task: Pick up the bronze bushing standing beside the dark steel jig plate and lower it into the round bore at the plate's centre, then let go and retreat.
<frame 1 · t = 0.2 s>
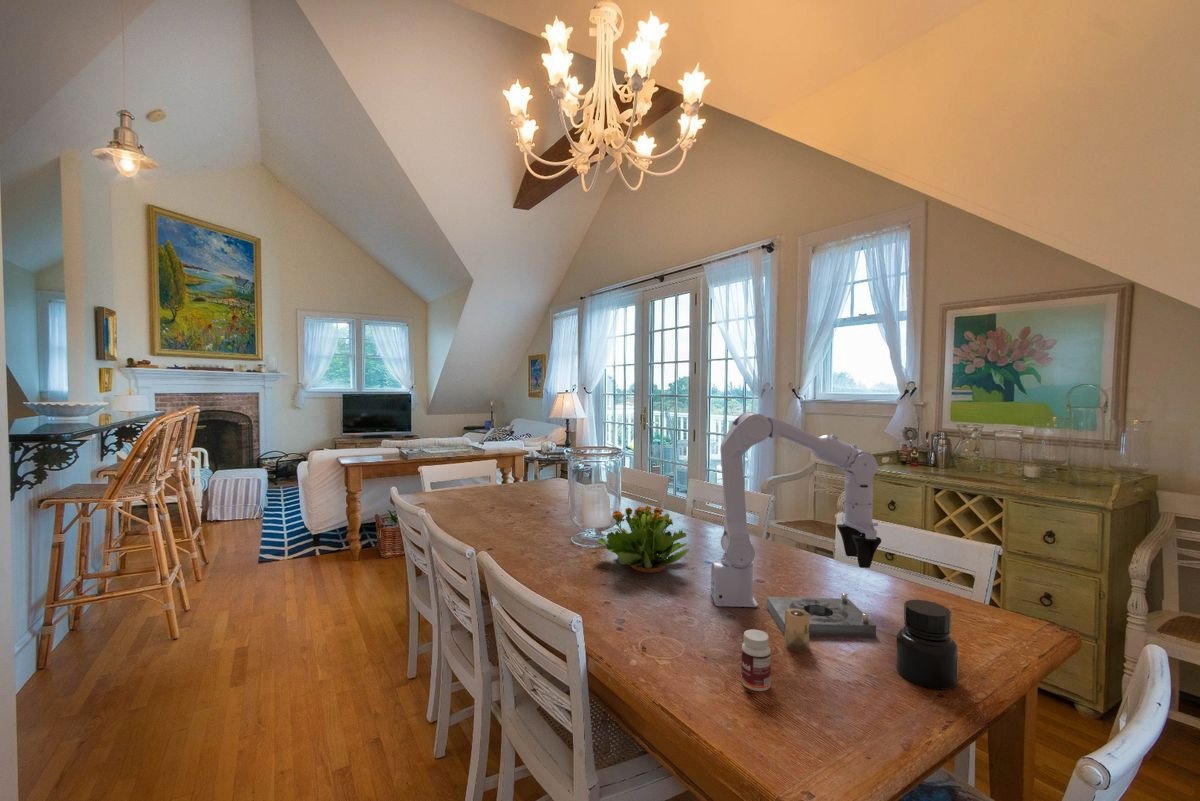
hand: (857, 561, 117), 10 cm above the table, fingers open, 7 cm apart
bushing: (796, 646, 99), on the table
pill bottle: (755, 685, 86), on the table
jig: (818, 621, 109), on the table
ink bottle: (925, 677, 89), on the table
potted flower: (651, 568, 142), on the table
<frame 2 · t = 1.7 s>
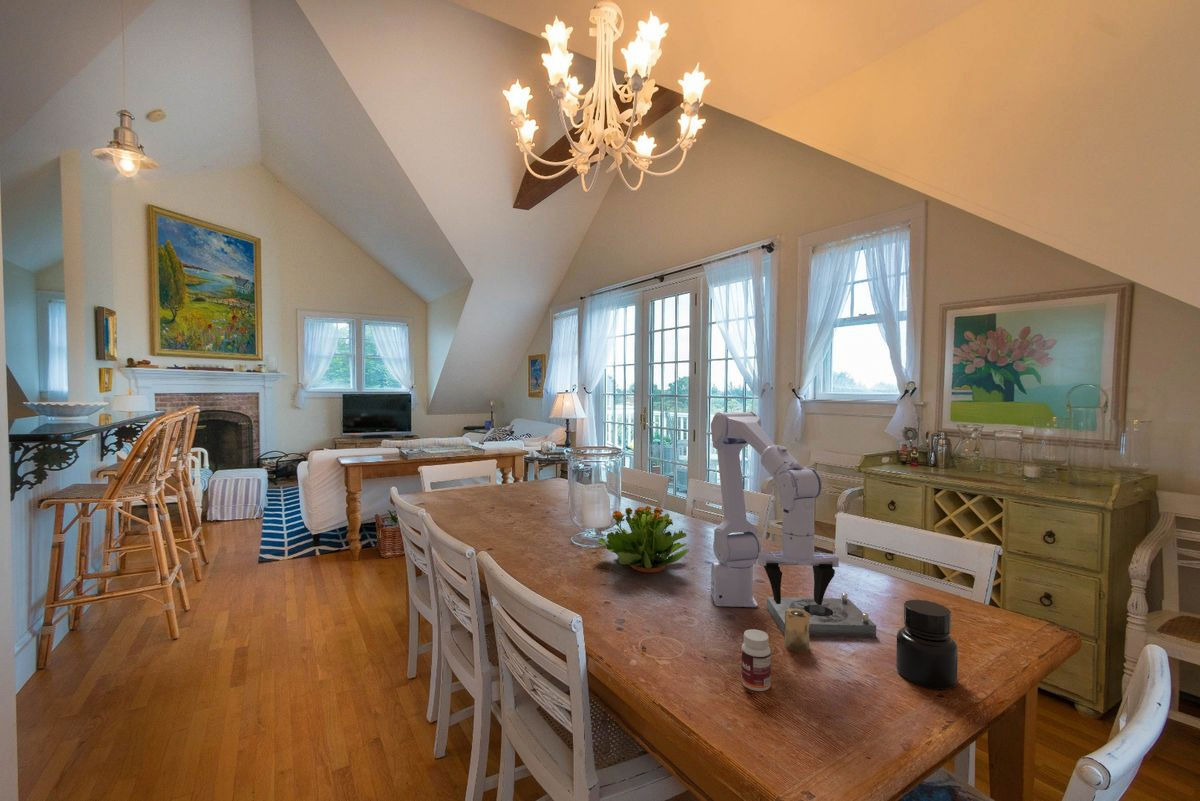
hand: (797, 602, 98), 9 cm above the table, fingers open, 7 cm apart
nothing on the table moved.
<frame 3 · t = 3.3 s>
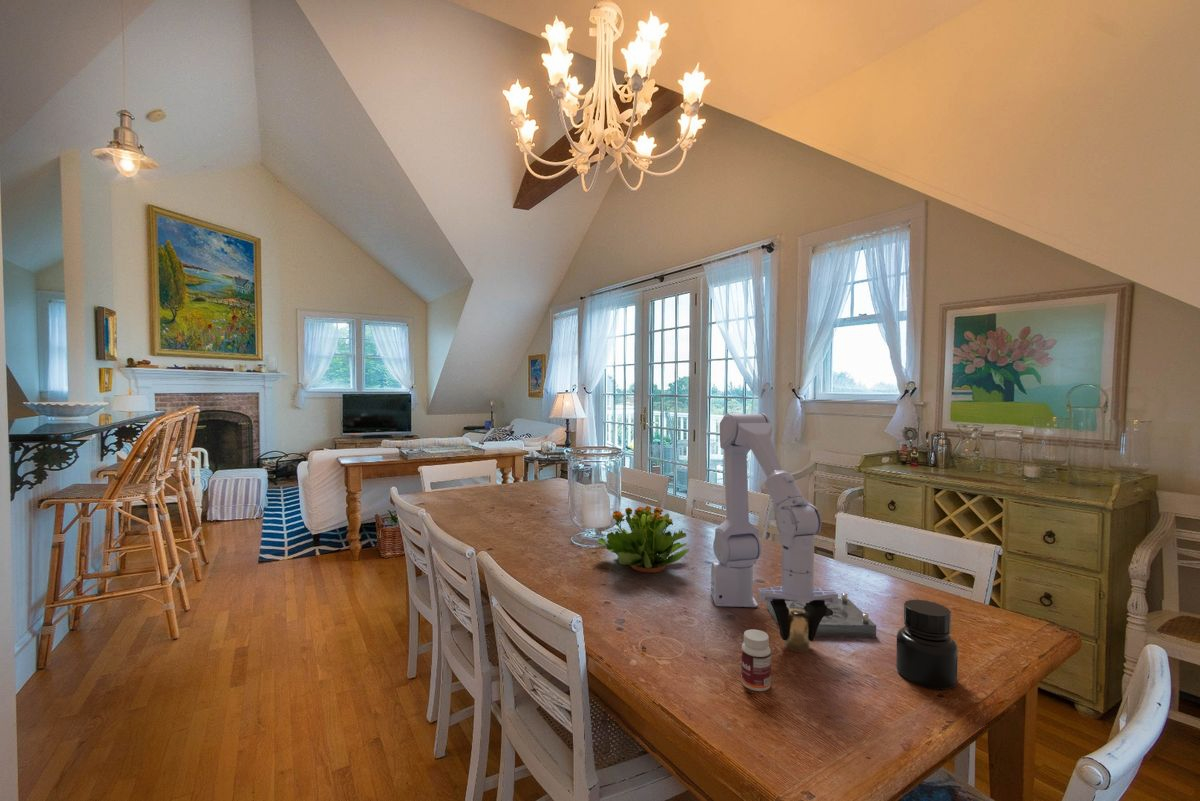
hand: (796, 638, 99), 2 cm above the table, fingers closed on bushing, 4 cm apart
bushing: (796, 646, 99), on the table, touching gripper
everything else where it was.
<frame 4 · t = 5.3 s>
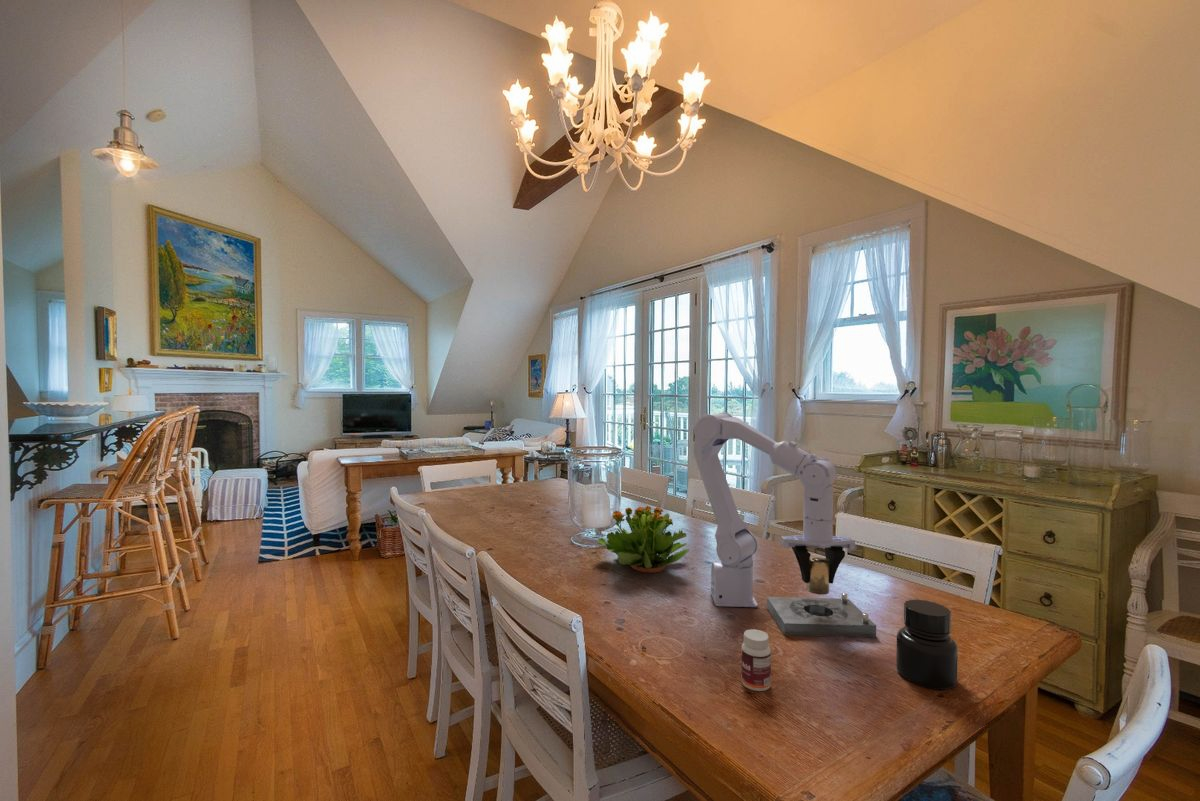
hand: (817, 581, 108), 9 cm above the table, fingers closed on bushing, 4 cm apart
bushing: (817, 590, 108), point 7 cm above the table, touching gripper
everything else where it was.
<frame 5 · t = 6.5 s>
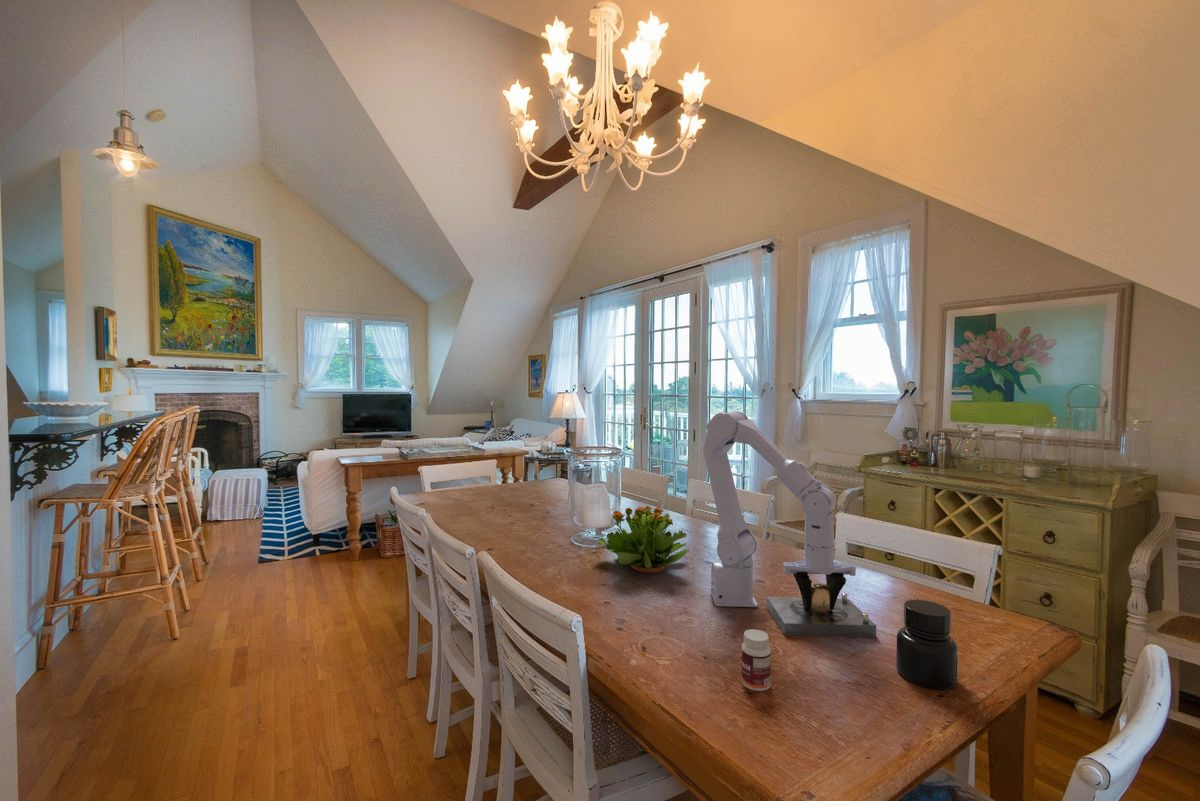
hand: (818, 607, 109), 3 cm above the table, fingers closed on bushing, 4 cm apart
bushing: (818, 616, 109), point 1 cm above the table, touching gripper
everything else where it was.
when the fingers open (3 cm above the table, at t = 7.5 s): bushing stays where it is, resting in jig.
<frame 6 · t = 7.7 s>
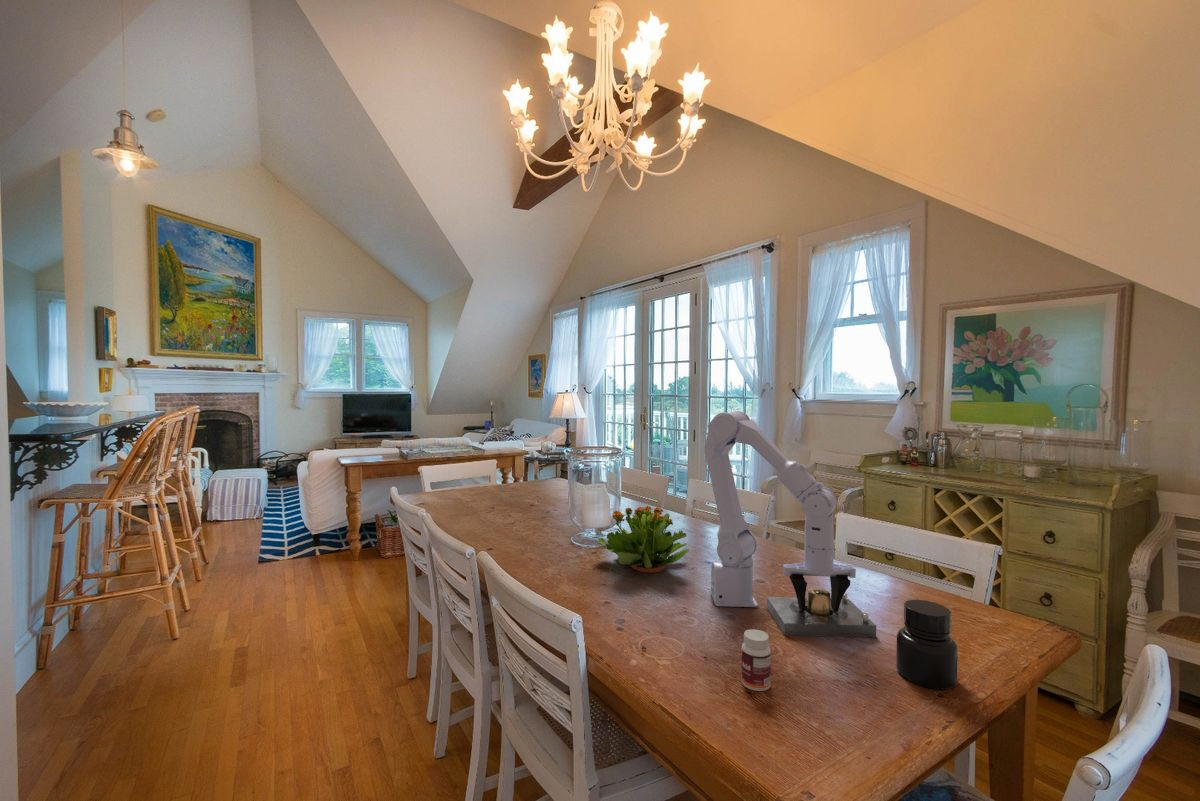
hand: (818, 609, 109), 3 cm above the table, fingers open, 6 cm apart
bushing: (818, 622, 109), resting in jig
everything else where it was.
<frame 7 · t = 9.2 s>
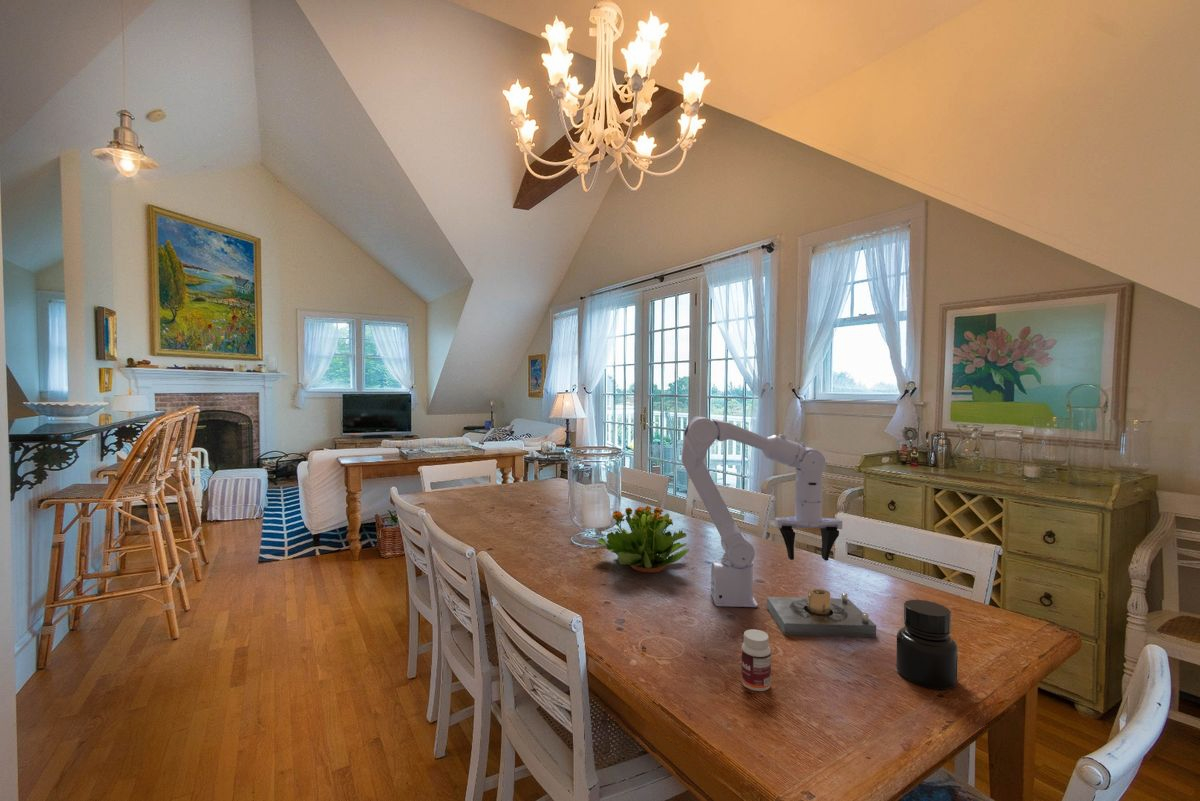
hand: (807, 558, 118), 10 cm above the table, fingers open, 7 cm apart
nothing on the table moved.
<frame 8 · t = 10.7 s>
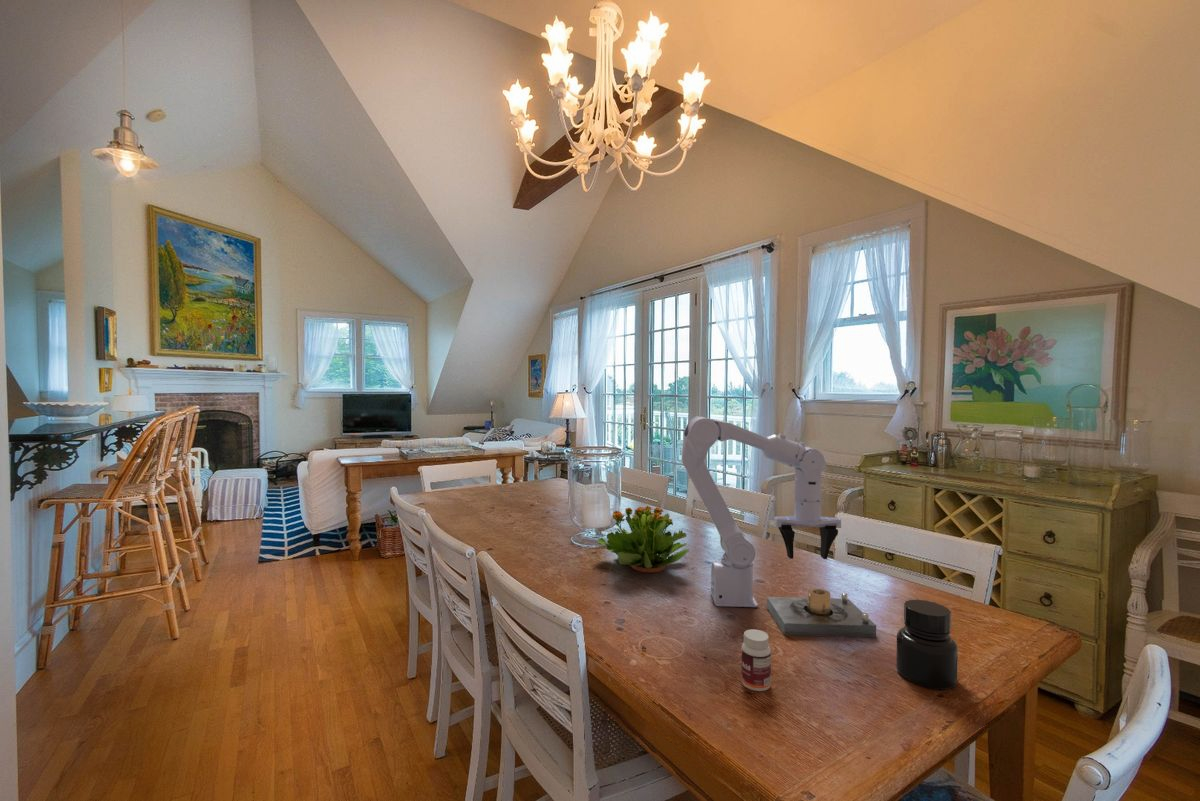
hand: (807, 557, 119), 10 cm above the table, fingers open, 7 cm apart
nothing on the table moved.
at the end: bushing 0.3 cm off-centre in the jig, point 0.0 cm above the jig's base; bushing tilted 0°; the gripper is holding nothing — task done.
